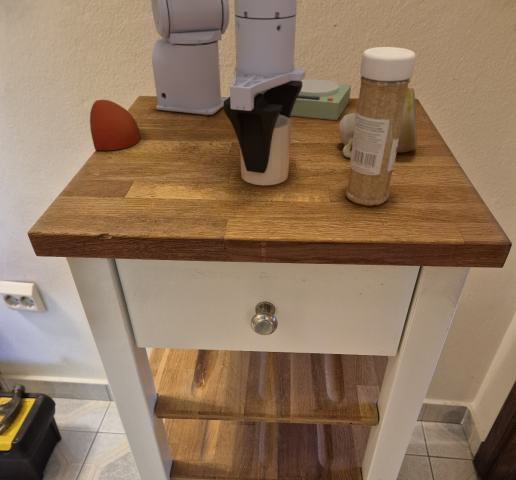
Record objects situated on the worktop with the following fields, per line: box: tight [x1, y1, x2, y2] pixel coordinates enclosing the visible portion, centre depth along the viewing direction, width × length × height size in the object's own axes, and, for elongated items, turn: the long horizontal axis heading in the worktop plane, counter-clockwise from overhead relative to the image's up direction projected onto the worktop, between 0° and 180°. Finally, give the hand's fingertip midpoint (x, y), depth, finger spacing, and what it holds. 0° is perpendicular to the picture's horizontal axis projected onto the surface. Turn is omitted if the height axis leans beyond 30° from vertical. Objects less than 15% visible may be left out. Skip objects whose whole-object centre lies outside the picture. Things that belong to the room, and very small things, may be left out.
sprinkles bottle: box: [345, 46, 416, 207], centre depth 45 cm, size 5×5×13 cm
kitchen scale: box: [290, 78, 352, 121], centre depth 72 cm, size 10×10×3 cm
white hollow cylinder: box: [239, 114, 291, 186], centre depth 52 cm, size 5×5×6 cm
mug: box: [338, 87, 418, 160], centre depth 58 cm, size 8×10×10 cm
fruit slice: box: [89, 99, 141, 152], centre depth 62 cm, size 8×7×5 cm
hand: (264, 161), depth 53 cm, fingers closed on white hollow cylinder, 5 cm apart
